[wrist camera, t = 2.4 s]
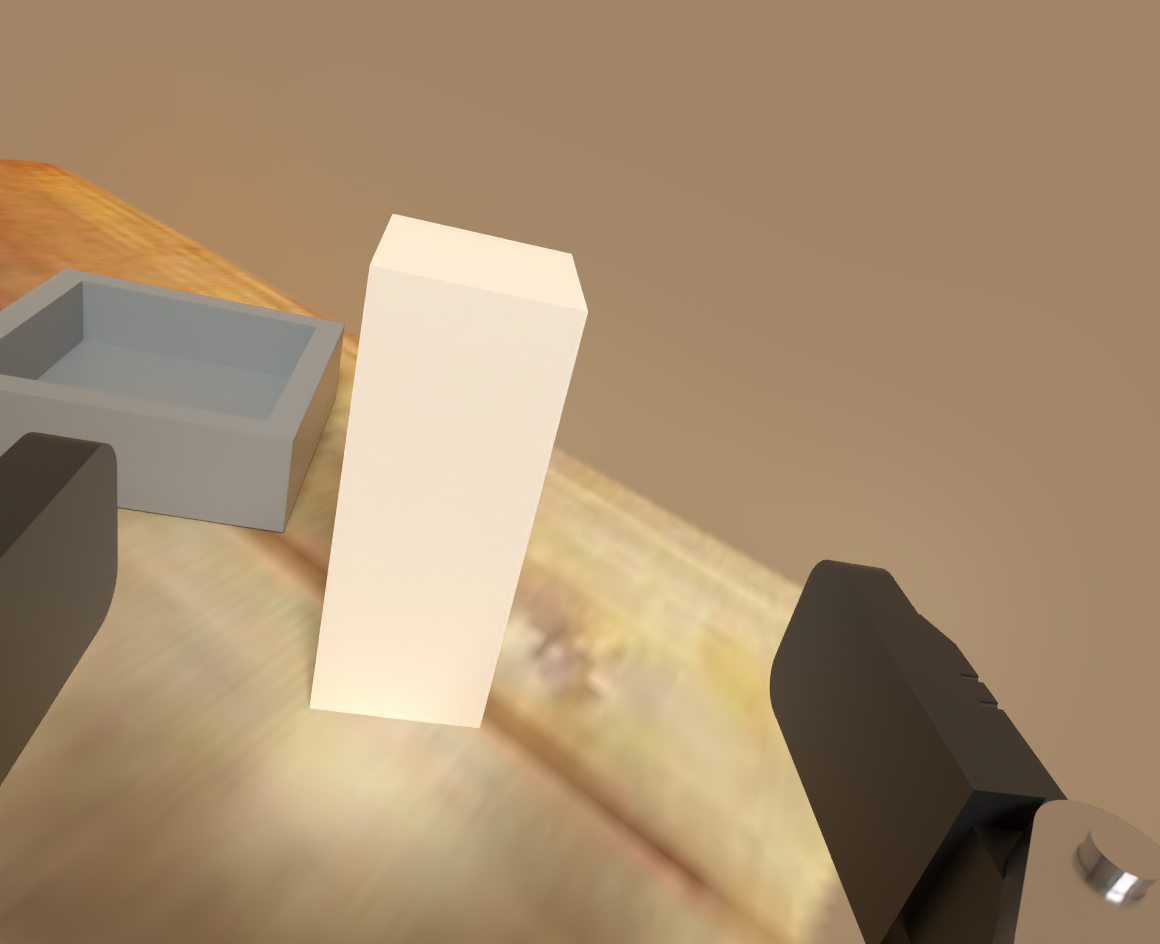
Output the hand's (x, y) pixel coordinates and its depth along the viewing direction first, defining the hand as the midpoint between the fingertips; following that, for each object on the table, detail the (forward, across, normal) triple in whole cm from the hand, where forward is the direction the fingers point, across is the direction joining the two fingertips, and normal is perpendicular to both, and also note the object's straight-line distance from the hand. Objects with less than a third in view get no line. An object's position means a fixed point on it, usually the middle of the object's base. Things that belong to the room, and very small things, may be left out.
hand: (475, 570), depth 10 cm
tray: (+23, +10, +11) cm, 27 cm away
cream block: (+12, 0, +11) cm, 16 cm away
